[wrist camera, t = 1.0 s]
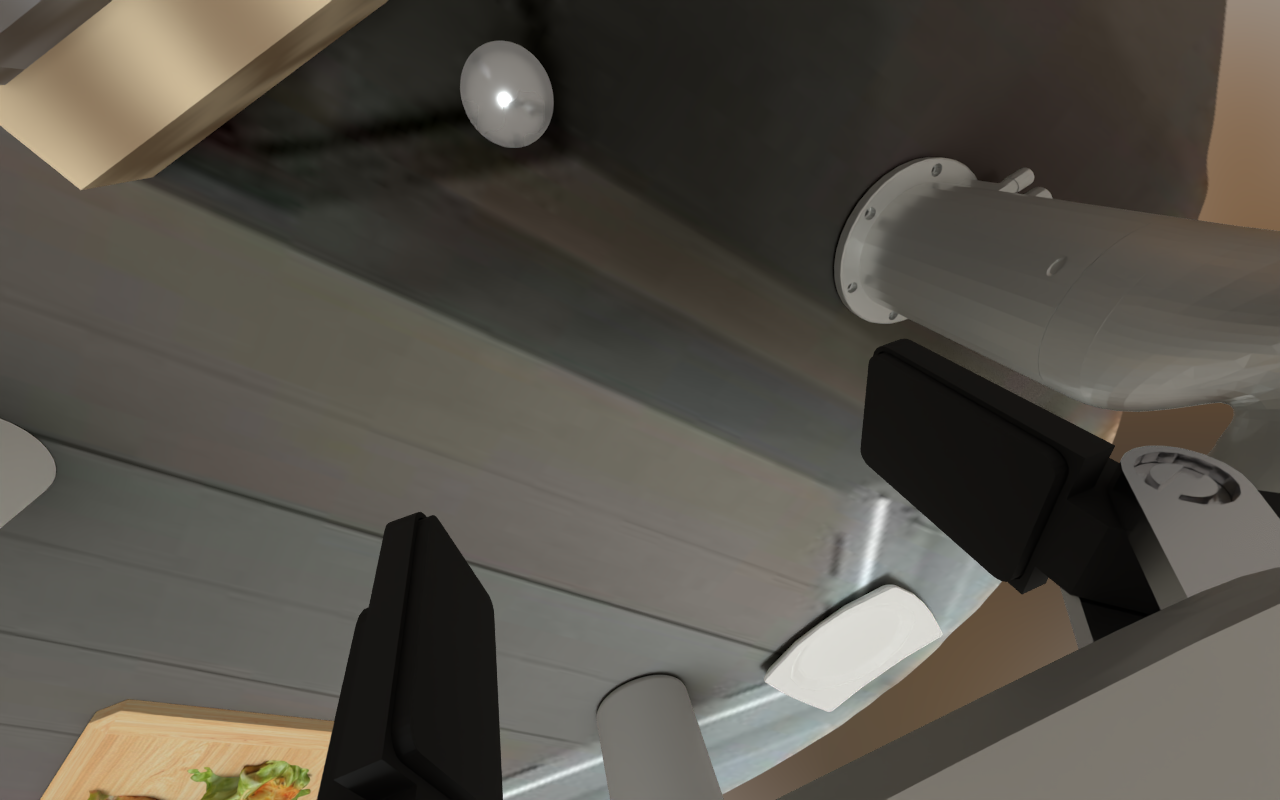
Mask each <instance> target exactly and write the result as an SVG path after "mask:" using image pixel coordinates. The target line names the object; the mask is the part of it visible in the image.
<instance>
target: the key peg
mask: <svg viewBox="0 0 1280 800" xmlns="http://www.w3.org/2000/svg"><path fill="white" fill-rule="evenodd" d="M460 91H461V98H462V103H463V106H464V109H465V111H466V114H467V116H468V118H469V119H470V121H471V123H472V124H473V125H474V127H475V128H476V129H477V130H478V131H479V132H480V133H481V134H482V135H483V136H484V137H485V138H487V139H488V140H490V141H491V142H493V143H495V144H498V145H501V146H504V147H509V148H518V147H523V146H527V145H529V144H531V143H533V142H535V141H536V140H537V139H539V138H540V137H541V136H542V134H543V133H544V132H545V130H546V129H547V127H548V125H549V123H550V120H551V117H552V113H553V105H554V102H553V91H552V87H551V83H550V80H549V77H548V75H547V73H546V71H545V69H544V68H543V66H542V65H541V63H540V62H539V61H538V60H537V58H536V57H535V56H534V55H533V54H532V53H530V52H529V51H528V50H526V49H525V48H523V47H522V46H520V45H517V44H515V43H512V42H508V41H492V42H488V43H486V44H483V45H482V46H480V47H478V48H477V49H476V50H475V51H474V52H473V53H472V54H471V55H470V56H469V58H468V59H467V61H466V63H465V65H464V67H463V71H462V74H461V81H460Z"/></svg>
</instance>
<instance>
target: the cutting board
mask: <svg viewBox="0 0 1280 800" xmlns="http://www.w3.org/2000/svg"><path fill="white" fill-rule="evenodd" d="M333 725H334V721H327V720H317V719H308V718H299V717H289V716H280V715H271V714H261V713H252V712H243V711H233V710H224V709H215V708H205V707H196V706H187V705H177V704H168V703H159V702H149V701H140V700H131V699H128V700H125V701H123V702H120V703H118V704H115V705H112V706H110V707H107V708H105V709H102V710H100V711H97V712H96V713H95V715H94V716H93V718H92V719H91V721H90V722H89V724H88V725H87V727H86V728H85V730H84V731H83V733H82V735H81V736H80V738H79V739H78V741H77V742H76V744H75V746H74V747H73V749H72V750H71V752H70V753H69V755H68V757H67V758H66V760H65V761H64V763H63V764H62V766H61V768H60V769H59V771H58V772H57V774H56V776H55V777H54V779H53V780H52V782H51V783H50V785H49V787H48V788H47V790H46V791H45V793H44V794H43V796H42V798H41V799H40V800H317V796H318V792H319V788H320V783H321V779H322V774H323V770H324V765H325V761H326V756H327V752H328V747H329V743H330V738H331V734H332V729H333Z"/></svg>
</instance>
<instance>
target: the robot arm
mask: <svg viewBox="0 0 1280 800" xmlns="http://www.w3.org/2000/svg"><path fill="white" fill-rule="evenodd" d="M1033 181H1034V174H1033V172H1032V171H1031V170H1030V169H1028V168H1026V167H1024V168H1020V169H1019V170H1017V171H1016V172H1014V173H1013V174H1011V175H1009V176H1008V177H1006V178H1005V179H1004V180H1003V181H1002V182H1000V183H993V182H985V181H978V180H977V178H976V176H975V174H974V173H973V172H972V171H971V170H970V169H969V168H968V167H967V166H966V165H964V164H962V163H960V162H958V161H957V160H953V159H948V158H941V157H924V158H920V159H915V160H912V161H909V162H907V163H905V164H902V165H900V166H898V167H896V168H895V169H893V170H892V171H890V172H889V173H887V174H886V175H884V176H883V177H882V178H881V179H880V180H879V181H877V182H876V183H875V184H874V185H873V186H872V187H871V188H870V189H869V190H868V191H867V192H866V194H865V195H864V196H863V197H862V198H861V200H860V201H859V202H858V204H857V205H856V207H855V208H854V210H853V212H852V213H851V215H850V216H849V218H848V220H847V222H846V224H845V227H844V229H843V231H842V233H841V236H840V239H839V243H838V246H837V249H836V255H835V263H834V277H835V284H836V288H837V292H838V294H839V296H840V298H841V300H842V302H843V304H844V305H845V306H846V307H847V308H848V309H849V310H850V311H851V312H852V313H854V314H855V315H857V316H859V317H860V318H862V319H865V320H867V321H869V322H873V323H879V324H891V323H896V322H899V321H903V320H906V319H910V320H912V321H914V322H916V323H918V324H920V325H922V326H924V327H926V328H928V329H930V330H932V331H934V332H936V333H938V334H940V335H942V336H944V337H947V338H949V339H951V340H953V341H955V342H957V343H959V344H961V345H963V346H965V347H967V348H969V349H971V350H973V351H975V352H977V353H979V354H981V355H983V356H985V357H987V358H989V359H991V360H994V361H996V362H998V363H1000V364H1002V365H1004V366H1006V367H1008V368H1010V369H1012V370H1014V371H1016V372H1018V373H1020V374H1022V375H1024V376H1026V377H1028V378H1030V379H1032V380H1034V381H1036V382H1039V383H1041V384H1043V385H1045V386H1047V387H1049V388H1051V389H1053V390H1055V391H1057V392H1059V393H1061V394H1064V395H1066V396H1068V397H1070V398H1072V399H1074V400H1076V401H1079V402H1082V403H1084V404H1087V405H1091V406H1094V407H1098V408H1102V409H1109V410H1115V411H1133V412H1140V411H1154V410H1165V409H1174V408H1181V407H1188V406H1195V405H1201V404H1208V403H1220V402H1221V403H1225V404H1229V405H1230V406H1232V408H1233V409H1234V417H1233V420H1232V422H1231V424H1230V425H1229V426H1228V427H1227V429H1226V430H1225V432H1224V433H1223V434H1222V436H1221V437H1220V438H1219V439H1218V441H1217V443H1216V446H1215V447H1214V448H1213V449H1212V450H1211V451H1210V453H1209V454H1208V455H1204V454H1201V453H1197V452H1194V451H1190V450H1187V449H1182V448H1175V447H1169V446H1144V447H1140V448H1134V449H1132V450H1130V451H1128V452H1127V453H1125V454H1124V456H1123V457H1122V459H1121V461H1120V463H1118V462H1116V461H1114V460H1112V459H1110V458H1109V457H1110V455H1111V453H1112V451H1113V449H1114V447H1115V445H1113V444H1111V443H1109V442H1107V441H1105V440H1103V439H1101V438H1099V437H1097V436H1095V435H1093V434H1091V433H1089V432H1087V431H1086V430H1084V429H1082V428H1080V427H1078V426H1076V425H1074V424H1072V423H1070V422H1068V421H1066V420H1064V419H1062V418H1060V417H1058V416H1056V415H1054V414H1053V413H1051V412H1049V411H1047V410H1045V409H1043V408H1041V407H1039V406H1037V405H1035V404H1033V403H1031V402H1029V401H1027V400H1025V399H1023V398H1022V397H1020V396H1018V395H1016V394H1014V393H1012V392H1010V391H1008V390H1006V389H1004V388H1002V387H1000V386H998V385H996V384H994V383H992V382H991V381H989V380H987V379H985V378H983V377H981V376H979V375H977V374H975V373H973V372H971V371H969V370H967V369H965V368H963V367H961V366H960V365H958V364H956V363H954V362H952V361H950V360H948V359H946V358H944V357H942V356H940V355H938V354H936V353H934V352H932V351H930V350H929V349H927V348H925V347H923V346H921V345H919V344H917V343H915V342H913V341H911V340H908V339H900V340H897V341H895V342H892V343H889V344H886V345H883V346H881V347H879V348H877V349H876V350H875V352H874V355H873V357H871V359H870V361H869V366H868V377H867V387H866V398H865V408H864V419H863V429H862V439H861V455H862V457H863V459H864V461H865V462H866V464H867V465H868V466H869V467H871V468H872V469H873V470H874V471H875V472H876V473H877V474H878V475H880V476H881V477H882V478H883V479H884V480H885V481H886V482H887V483H889V484H890V485H891V486H892V487H893V488H894V489H895V490H896V491H898V492H899V493H900V494H901V495H902V496H903V497H904V498H906V499H907V500H908V501H909V502H910V503H911V504H912V505H913V506H915V507H916V508H917V509H918V510H919V511H920V512H921V513H922V514H924V515H925V516H926V517H927V518H928V519H929V520H930V521H931V522H933V523H934V524H935V525H936V526H937V527H938V528H939V529H941V530H942V531H943V532H944V533H945V534H946V535H947V536H948V537H950V538H951V539H952V540H953V541H954V542H955V543H956V544H957V545H959V546H960V547H961V548H962V549H963V550H964V551H965V552H966V553H968V554H969V555H970V556H971V557H972V558H973V559H974V560H976V561H977V562H978V563H979V564H980V565H981V566H982V567H983V568H985V569H986V570H987V571H988V572H989V573H990V574H991V575H993V576H994V577H995V578H997V579H999V580H1001V581H1005V582H1008V583H1009V584H1011V585H1012V586H1013V587H1014V588H1015V589H1016V590H1018V591H1019V592H1020V593H1021V594H1024V593H1026V592H1028V591H1030V590H1032V589H1035V588H1037V587H1039V586H1041V585H1043V584H1045V583H1046V581H1047V579H1048V577H1049V578H1050V579H1051V580H1053V581H1054V582H1055V583H1056V584H1057V585H1059V586H1060V589H1061V592H1062V595H1063V599H1064V602H1065V605H1066V609H1067V612H1068V615H1069V618H1070V622H1071V625H1072V628H1073V632H1074V635H1075V639H1076V642H1077V645H1078V649H1079V650H1077V651H1075V652H1073V653H1071V654H1069V655H1066V656H1064V657H1062V658H1060V659H1058V660H1056V661H1054V662H1052V663H1050V664H1048V665H1046V666H1044V667H1042V668H1040V669H1038V670H1036V671H1034V672H1032V673H1030V674H1028V675H1026V676H1024V677H1022V678H1020V679H1018V680H1016V681H1014V682H1012V683H1009V684H1008V685H1005V686H1003V687H1001V688H999V689H997V690H995V691H993V692H991V693H989V694H987V695H985V696H983V697H981V698H979V699H977V700H975V701H973V702H971V703H969V704H967V705H965V706H963V707H961V708H959V709H957V710H955V711H953V712H951V713H949V714H947V715H945V716H943V717H941V718H939V719H937V720H935V721H933V722H931V723H929V724H927V725H925V726H923V727H921V728H919V729H917V730H914V731H913V732H911V733H908V734H906V735H904V736H902V737H900V738H898V739H897V740H894V741H892V742H890V743H888V744H886V745H884V746H882V747H880V748H879V749H876V750H874V751H872V752H870V753H868V754H866V755H864V756H862V757H860V758H858V759H856V760H854V761H852V762H850V763H848V764H846V765H844V766H842V767H840V768H838V769H836V770H834V771H832V772H830V773H828V774H826V775H824V776H823V777H820V778H818V779H816V780H814V781H812V782H810V783H808V784H806V785H804V786H802V787H800V788H799V789H796V790H795V791H792V792H790V793H788V794H786V795H784V796H782V797H780V798H778V799H776V800H1280V231H1274V230H1266V229H1258V228H1249V227H1240V226H1234V225H1227V224H1219V223H1213V222H1205V221H1199V220H1193V219H1186V218H1179V217H1172V216H1166V215H1159V214H1152V213H1145V212H1139V211H1132V210H1125V209H1119V208H1112V207H1105V206H1098V205H1092V204H1085V203H1078V202H1072V201H1065V200H1058V199H1053V198H1052V196H1051V193H1050V192H1049V191H1048V190H1047V189H1045V188H1042V187H1034V188H1033V189H1031V190H1030V191H1028V192H1026V193H1025V194H1018V192H1019V191H1021V190H1022V189H1024V188H1025V187H1027V186H1029V185H1030V184H1031V183H1032V182H1033ZM317 800H503V792H502V771H501V750H500V728H499V707H498V686H497V665H496V643H495V622H494V609H493V605H492V601H491V599H490V597H489V595H488V593H487V592H486V590H485V589H484V587H483V586H482V584H481V583H480V581H479V580H478V578H477V577H476V575H475V574H474V572H473V571H472V569H471V568H470V566H469V565H468V563H467V562H466V560H465V559H464V557H463V556H462V554H461V553H460V551H459V550H458V548H457V547H456V545H455V544H454V542H453V541H452V539H451V538H450V536H449V535H448V533H447V532H446V530H445V529H444V527H443V526H442V524H441V523H440V521H439V520H438V518H437V517H436V516H434V515H432V516H429V517H426V516H425V515H424V514H423V513H422V512H417V513H415V514H412V515H409V516H406V517H404V518H401V519H398V520H395V521H392V522H390V523H388V524H387V525H386V528H385V531H384V536H383V541H382V546H381V551H380V556H379V560H378V565H377V570H376V575H375V580H374V585H373V590H372V594H371V599H370V604H369V608H366V609H364V610H363V611H362V613H361V614H360V615H359V618H358V620H357V623H356V627H355V631H354V636H353V640H352V645H351V649H350V654H349V658H348V662H347V667H346V671H345V676H344V680H343V685H342V689H341V694H340V698H339V703H338V707H337V712H336V716H335V721H334V725H333V729H332V734H331V738H330V743H329V747H328V752H327V756H326V761H325V765H324V770H323V774H322V779H321V783H320V788H319V792H318V796H317Z"/></svg>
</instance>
